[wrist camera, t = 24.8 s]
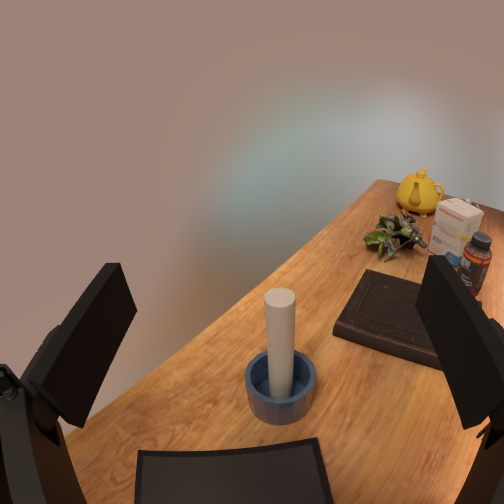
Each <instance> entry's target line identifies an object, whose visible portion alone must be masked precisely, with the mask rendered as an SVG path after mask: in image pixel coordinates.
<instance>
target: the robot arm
mask: <svg viewBox="0 0 504 504" xmlns="http://www.w3.org/2000/svg"><path fill="white" fill-rule="evenodd" d="M415 308H416V310H417V312H418V314H419V316H420V318H421V320H422V322H423V325H424V327H425V329H426V331H427V333H428V336H429V338H430V340H431V343H432V345H433V347H434V350H435V352H436V354H437V357H438V359H439V362H440V364H441V367H442V369H443V372H444V374H445V377H446V379H447V382H448V385H449V387H450V390H451V393H452V396H453V399H454V401H455V404H456V407H457V410H458V413H459V416H460V419H461V423H462V426H463V429H464V430H465V429H468V428H471V427H474V426H477V425H479V424H481V423H482V422H483V421H484V420H485V419H486V418H487V417H488V415H489V418H490V421H491V422H490V423H489V424H488V425H487V426H485V427H484V428H483V429H482V430H481V431H480V432H479V433H478V435H477V437H476V438H479V437H480V436H481V435H483V434H484V436H483V438H482V439H481V440H482V442H481V445H480V447H479V450H478V452H477V455H476V458H475V460H474V462H473V465H472V467H471V470H470V472H469V474H468V476H467V479H466V481H465V483H464V485H463V487H462V489H461V491H460V493H459V495H458V497H457V499H456V501H455V503H454V504H504V329H503V327H502V326H501V325H500V324H499V323H498V322H497V321H496V320H494V319H493V318H490V319H488V317H487V316H486V314H485V313H484V311H483V310H482V308H481V306H480V305H479V303H478V302H477V300H476V299H475V297H474V296H473V294H472V293H471V292H470V290H469V289H468V287H467V286H466V284H465V283H464V282H463V280H462V279H461V277H460V276H459V275H458V273H457V272H456V271H455V269H454V268H453V266H452V265H451V264H450V263H449V261H448V260H447V259H446V257H445V256H444V255H429V258H428V262H427V266H426V270H425V274H424V277H423V281H422V284H421V287H420V291H419V294H418V297H417V300H416V304H415ZM136 312H137V309H136V306H135V303H134V301H133V298H132V295H131V293H130V290H129V287H128V285H127V282H126V279H125V276H124V273H123V270H122V268H121V264H120V263H106V264H105V265H104V266H103V267H102V269H101V270H100V271H99V273H98V274H97V275H96V276H95V278H94V279H93V280H92V282H91V283H90V284H89V286H88V287H87V288H86V290H85V291H84V292H83V294H82V295H81V296H80V298H79V300H78V301H77V302H76V303H75V305H74V306H73V308H72V309H71V310H70V312H69V314H68V315H67V316H66V318H65V319H64V321H63V322H62V323H61V325H57V326H56V327H55V328H54V329H53V330H52V331H51V332H49V334H48V335H47V336H46V338H45V340H44V341H43V344H42V345H41V346H40V347H39V349H38V352H36V353H35V355H34V357H33V358H32V360H31V361H30V363H29V365H28V366H27V368H26V370H25V371H24V373H23V375H22V376H21V378H20V379H18V378H17V377H16V375H15V374H14V373H13V372H12V370H11V369H10V368H9V367H8V366H7V365H6V364H0V504H87V502H86V500H85V497H84V495H83V492H82V490H81V487H80V485H79V482H78V480H77V477H76V474H75V471H74V468H73V465H72V462H71V459H70V456H69V453H68V450H67V447H66V443H65V440H64V436H63V432H62V429H61V426H60V424H59V422H58V421H57V419H58V417H59V415H60V416H61V417H62V418H63V419H64V420H65V421H66V422H67V423H68V424H71V425H74V426H77V427H80V428H83V427H84V424H85V422H86V419H87V417H88V415H89V412H90V410H91V407H92V405H93V403H94V400H95V398H96V396H97V394H98V391H99V389H100V387H101V385H102V382H103V380H104V378H105V376H106V374H107V372H108V369H109V367H110V365H111V363H112V361H113V359H114V356H115V355H116V352H117V350H118V348H119V346H120V344H121V342H122V340H123V338H124V336H125V334H126V332H127V330H128V328H129V326H130V324H131V322H132V320H133V318H134V316H135V314H136Z"/></svg>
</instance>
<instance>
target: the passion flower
mask: <svg viewBox="0 0 504 504" xmlns="http://www.w3.org/2000/svg"><path fill="white" fill-rule="evenodd" d="M401 214H402V215H403V217H404V219H403V218H402V217H401V216H399V215H397V214H396V215H394V216H393V215H391V214H389V215H391V216H389V217H390V218H388V217H384V216H383V215H382V214H380V218H379V221H380V223H378V224H377V226H376V228H375V229H377V228H386V229H388V233H386V231H385V230H383V231H373V232H372V233H371V234H370V233H368V234H367V235H366V236H365V237H364V238H363V240H364V241H365V242H366V244H367V245H371V244H377V243H381V244H380V246H379V250H378V253H379V256H380V257H381V253H382V250H383V248H384V247H385V246H388V257H387V259H386V260H385V261H384V262H386V261H387V260H388V259H389V257H390V256H391V255H392V254H393V253H395V252H397V251H398V249H399V248H402V249H409V250H411V251H413V249H414V248H413V246H414V245H415V244H419V245H420V246H421V247H422V248H426V247H427V245H426V244H425V243H424V242H423V241H422V234H420V233H419V232H418V230H420V229H419V228H417V227H413V225H414V224H413V225H411V223H416V220H415V218H414V217H413V216H411V215H410V214H409V213H407V212H406V213H405V212H403V211H401ZM406 219H407V220H406ZM408 222H409V223H410V224H408ZM391 237H392V238H393V239H398V238H399V240H400V246H399V247H397V248H396V247H395V243H396V240H395V243H394V244H393V243H392V242H391ZM387 243H390V244H391V245H392V246H389V245H388V244H387Z"/></svg>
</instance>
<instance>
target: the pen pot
mask: <svg viewBox="0 0 504 504" xmlns="http://www.w3.org/2000/svg"><path fill="white" fill-rule="evenodd" d="M315 378H316V372H315V368H314V365H313V363H312V362H311V361H310V360H309V359H308V358H307V357H306V355H304V354H302V353H300V352H298V351H296V350H294V362H293V383H292V395H291V397H290V398H284V399H275V398H271V396H270V388H269V370H268V353H267V351H265V352H262V353H260V354H258V355H257V356H256V357H255V358H254V359H253V360H251V361H250V362H249V364H248V366H247V369H246V371H245V381H246V388H247V394H248V400H249V406H250V408H251V410H252V412H253V413H254V415H255V416H256V417H257V418H259V419H260V420H262V421H263V422H265V423H268V424H272V425H287V424H291V423H294V422H296V421H298V420H299V419H301V418H302V417H303V416H304V415H305V414H306V413H307V412H308V410H309V408H310V406H311V402H312V397H313V391H314V385H315Z"/></svg>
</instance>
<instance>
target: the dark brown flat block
mask: <svg viewBox="0 0 504 504" xmlns="http://www.w3.org/2000/svg"><path fill="white" fill-rule="evenodd" d="M420 287H421V284H419V283H415V282H412V281H408V280H405V279H401V278H398V277H394V276H390V275H387V274H383V273H380V272H376V271H373V270H369V269H366V270H365V272H364V274H363V276H362V278H361V279H360V281H359V283H358V285H357V287H356V288H355V290H354V292H353V294H352V296H351V297H350V299H349V301H348V303H347V304H346V306H345V308H344V309H343V311H342V313H341V314H340V316H339V318H338V319H337V321H336V323H335V325H334V328H333V335H335V336H338V337H341V338H344V339H347V340H349V341H352V342H355V343H358V344H361V345H364V346H367V347H370V348H373V349H376V350H379V351H382V352H385V353H388V354H391V355H394V356H397V357H401V358H404V359H407V360H410V361H413V362H417V363H420V364H423V365H426V366H430V367H433V368H436V369H440V370H443V369H442V367H441V364H440V362H439V359H438V357H437V354H436V352H435V350H434V347H433V345H432V343H431V340H430V338H429V336H428V333H427V331H426V329H425V327H424V325H423V322H422V320H421V318H420V316H419V314H418V312H417V310H416V308H415V304H416V300H417V297H418V294H419V291H420ZM477 302H478V303H479V305H480V306H481V308H482V302H481V301H477Z"/></svg>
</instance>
